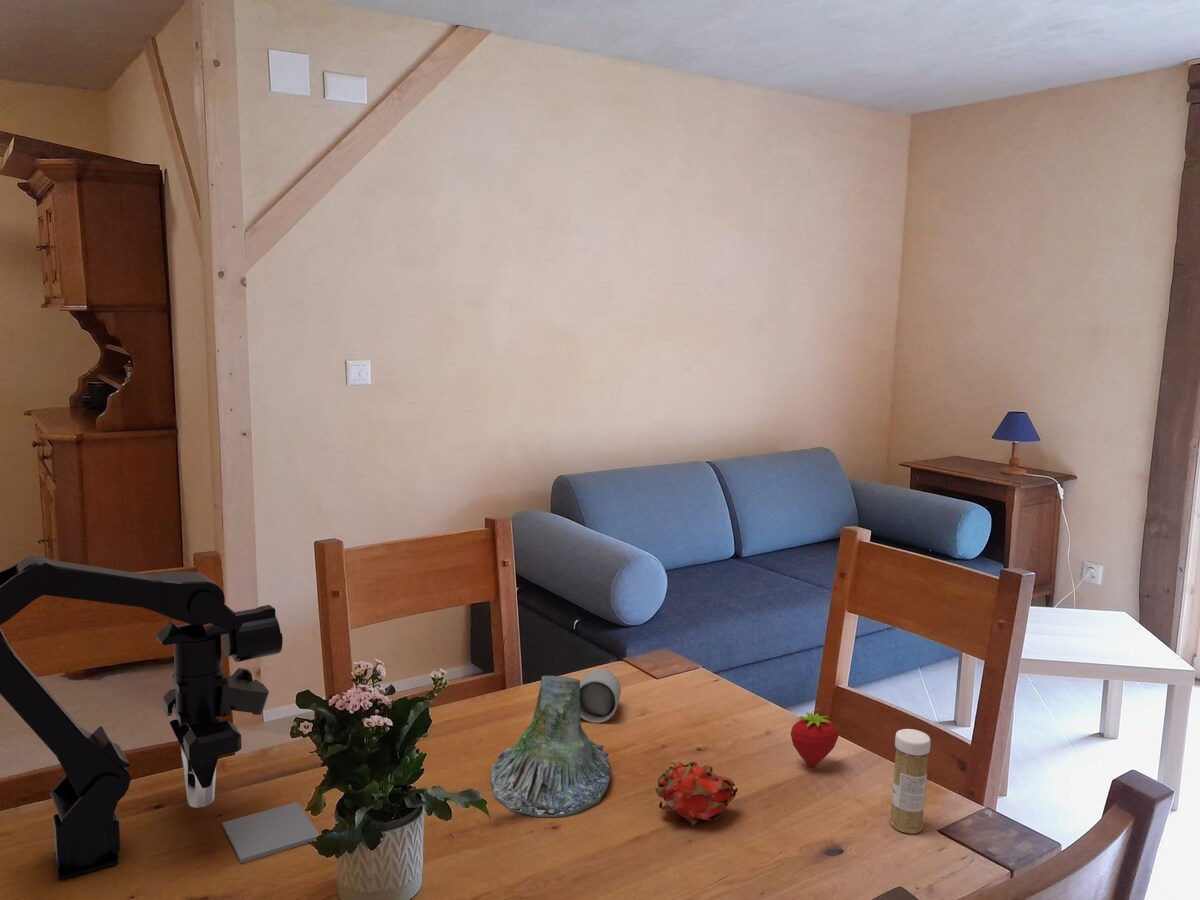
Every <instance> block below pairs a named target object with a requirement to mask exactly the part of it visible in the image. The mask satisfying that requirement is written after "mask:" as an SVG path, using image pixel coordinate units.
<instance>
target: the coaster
mask: <svg viewBox="0 0 1200 900" xmlns="http://www.w3.org/2000/svg"><path fill="white" fill-rule="evenodd" d="M222 827H223V829H224V832H225V834H226V836H227V838H228V840H229V841H230V844H231V846H232V847H233V849H234V852H235V854H236V856H237V858H238V860H239V861H240V863H241V864H245V863H247V862H251V861H254V860H259V859H261V858H264V857H267V856H272V855H274V854H278V853H281V852H284V851H287V850H291V849H293V848H297V847H300V846H304V845H307V844H309V843H308V842H311V843H313V842H312V841H314V842H316V841H315V839H316V838H317V836H318V835H319V834H320V832H319V831H318V829H317V828H316V827H315V825H314V822H312V820H311V819H310V818H309V816H308V814H307V813H306V811H305V810H304V808H303V807H302V805H301V804H300V803H299V801H296V802H293V803H289V804H285V805H282V806H281V805H280V806H278V807H273V808H271V809H267V810H263V811H259V812H255V813H253V814H252V813H251V814H248V815H245V816H241V817H238V818H233V819H230V820H227V821H223V822H222Z"/></svg>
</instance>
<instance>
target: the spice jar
mask: <svg viewBox="0 0 1200 900" xmlns="http://www.w3.org/2000/svg"><path fill="white" fill-rule="evenodd" d="M894 738H895V739H894V747H895V755H894V768H893V769H894V770H893V776H892V777H893V779H892V789H891V791H892V792H891V811H890V817H889V824H890V825H891V827H892V828H893V829H895V830H897V831H899V832H902V833H906V834H919V833H921V832H922V830H924V823H923V821H924V811H925V810H924V809H925V807H926V805H925V803H926V795H927V794H926V791H927V782H928V781H927V779H928V760H929V755H930V751H931V738H930V736H929V734H927V733H925V732H923V731H921V730H917V729H913V728H912V729H911V728H904V729H899V730H897V731H896V733H895V737H894Z"/></svg>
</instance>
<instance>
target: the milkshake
mask: <svg viewBox="0 0 1200 900" xmlns="http://www.w3.org/2000/svg"><path fill="white" fill-rule="evenodd" d="M183 744H184V743H183ZM180 752H181V753H180V754H181V759H182V767H183V773H184V776H183V777H184V782H185V792H186V793H185V794H186V801H187V802H186V803H187V804H188V806H189V807H192V808H195V809H198V808H203V807H204V808H205V807H207V806H209V805H211V804H212V803H213V802H214V800H215V796H216V795H215V794H216V779H217V778H216V775H217V767H216V768H215V772H214V776H213V780H212V783H211V786H210V787H206V788H202V787H201V785H200V783H199V781H198V779H197V777H196V775H195V773H194V771H193V769H192V767H191V765H190V763H189V761H188V759H187V757H186V755H185V753H184V751H183V749H182V747H181V746H180Z"/></svg>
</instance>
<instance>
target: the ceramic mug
mask: <svg viewBox="0 0 1200 900" xmlns="http://www.w3.org/2000/svg"><path fill="white" fill-rule="evenodd" d="M621 692H622V688H621V682H620V680H619V679H618V677H617V676H616V675H615V673H613V672H612V671H610V670H608V669H603V668H598V669H593V670H592V671H589V673H587V674H586V675H585V676H584V677H583V679H582V680H581V681H580V718H581V719H583V720H584V721H586V722H589V723H592V724H601V723H605V722H607V721H608V720H610V719H611V718H612V717H613V716H614V715H615V713H616V711H617V709H618V705H619V701H620V698H621V694H622V693H621Z"/></svg>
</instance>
